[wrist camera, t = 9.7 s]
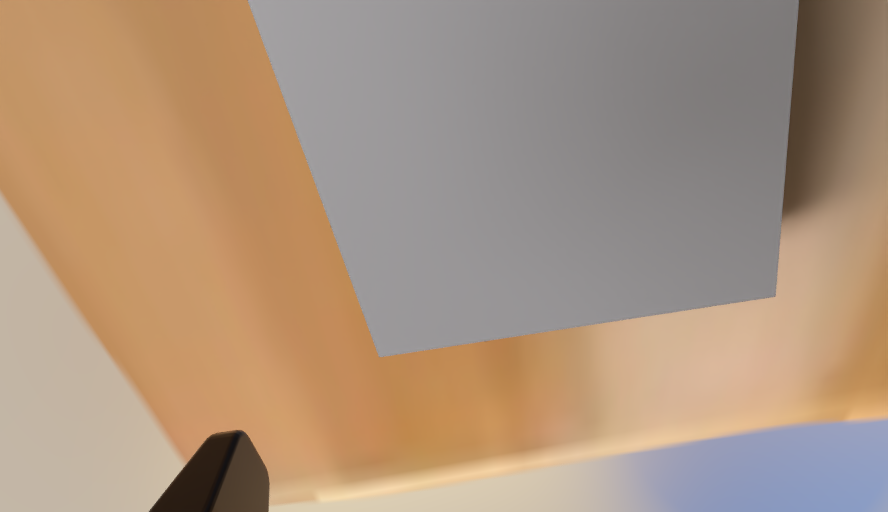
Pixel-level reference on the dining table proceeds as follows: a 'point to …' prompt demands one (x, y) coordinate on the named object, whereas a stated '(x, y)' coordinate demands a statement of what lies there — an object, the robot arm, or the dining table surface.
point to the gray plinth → (540, 155)
